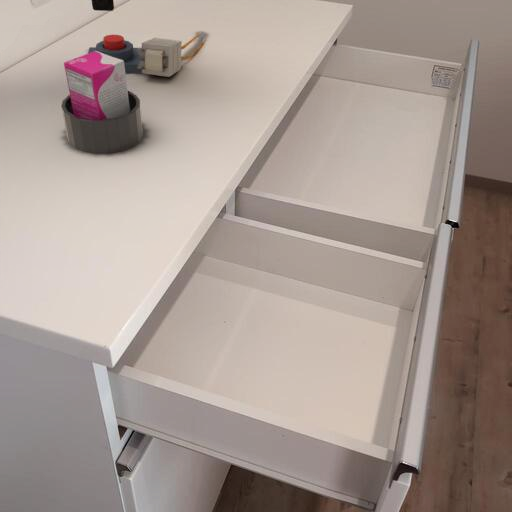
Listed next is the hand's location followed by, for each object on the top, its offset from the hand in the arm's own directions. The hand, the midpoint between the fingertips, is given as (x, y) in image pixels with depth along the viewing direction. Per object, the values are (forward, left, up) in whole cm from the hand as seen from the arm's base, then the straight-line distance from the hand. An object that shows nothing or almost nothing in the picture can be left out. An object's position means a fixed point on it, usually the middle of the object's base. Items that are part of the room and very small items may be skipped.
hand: (107, 0), depth 88 cm
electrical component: (+11, +9, -13) cm, 19 cm away
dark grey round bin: (0, -22, -13) cm, 26 cm away
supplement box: (0, -22, -13) cm, 26 cm away
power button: (0, +6, -10) cm, 11 cm away
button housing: (0, +6, -13) cm, 14 cm away
